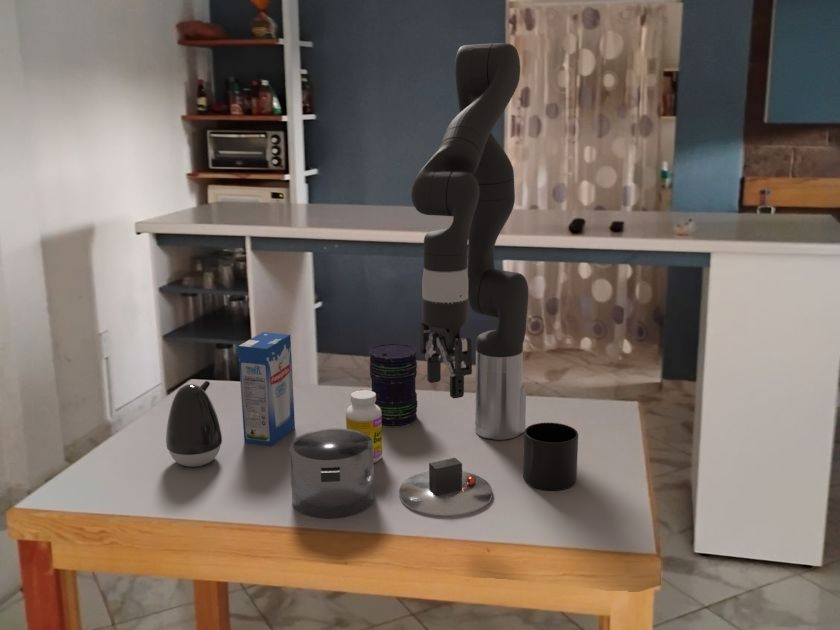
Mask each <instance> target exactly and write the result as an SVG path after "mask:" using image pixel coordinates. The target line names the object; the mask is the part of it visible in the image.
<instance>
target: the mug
mask: <svg viewBox="0 0 840 630" xmlns="http://www.w3.org/2000/svg"><path fill="white" fill-rule="evenodd" d="M578 450H579V433H578V431H577V430H576V428H574V427H572V426H570V425H568V424H563V423H559V422H538V423H534V424H531V425H528V426H527V427H525V431H524V432H523V462H522V463H523V467H522V468H523V469H522V477H523V480H524V482H525V483H526V484H528V485H529V486H531V487H533V488H535V489H538V490H542V491H543V490H544V491H563V490H566V489H569V488H571V487H572V486H573V485H575V483H576V481H577V474H578V473H577V472H578V455H579V454H578Z"/></svg>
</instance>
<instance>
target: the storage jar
mask: <svg viewBox="0 0 840 630" xmlns="http://www.w3.org/2000/svg"><path fill="white" fill-rule="evenodd" d="M416 355H417V349H416V348H415V347H413V346H411V345H408V344H401V343H387V344H381V345H377V346H374V347H372V348H370V349H369V376H370V377H369V378H370V379H371V391H373V392H375V393H376V401H375V404H376V405H377V406H379V407H380V409H381V414H382V427H385V428H400V427H401V428H402V427H407V426H409V425H412V424H414V423H415V422H416V421H417V420H418V416H417V412H418V394H417V392H416V391H417V390H416V389H417V388H416V377H417V376H418V375H417V373H418V371H417V369H418V368H417V367H418V365H417V364H418V362H417V356H416Z"/></svg>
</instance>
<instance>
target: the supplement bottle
mask: <svg viewBox="0 0 840 630" xmlns="http://www.w3.org/2000/svg"><path fill="white" fill-rule="evenodd" d="M375 401H376V393H375V392H373V391H372V390H367V389H366V390H365V389H362V390H356V391H353V392H352V393H350V402H351V405H349V407H347V409H346V410H345V423H346V428H345V429H350V430H355V431H359V432H362V433H364V434H366V435H368V436H369V437H370V438H371V439H372V441H373V464H374V463H376V462H379V461H380V460H381V459H382V457H383V426H382V414H381V409H380V407H379V406H377V405H376V404H375Z"/></svg>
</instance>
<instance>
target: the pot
mask: <svg viewBox="0 0 840 630" xmlns="http://www.w3.org/2000/svg"><path fill="white" fill-rule="evenodd" d="M289 464H290V465H289V468H290V481H291V482H290V483H291V486H290V487H291V500H292V501H291V502H292V506H293V507H294V509H295V510H296V511H297V512H299V513H301V514H303V515H305V516H308V517H313V518H317V519H318V518H320V519H338V518H340V519H341V518H345V517H350V516H353V515H356V514H357V515H358V514H359V513H362V512H363V511H365V510H367V509H368V508H370V506H372V504H373V503H374V500H375V473H374V472H375V471H374V470H375V469H374V463H373V441H372V439H371V438H370V437H369V436H368V435H366V434H364V433H362V432H359V431H355V430H350V429H346V428H339V427H338V428H336V427H335V428H322V429H316V430H312V431H308V432H305V433H303V434H300V435H298V436H297V437H295V438H294V439H293V440H291V442H290V444H289Z"/></svg>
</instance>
